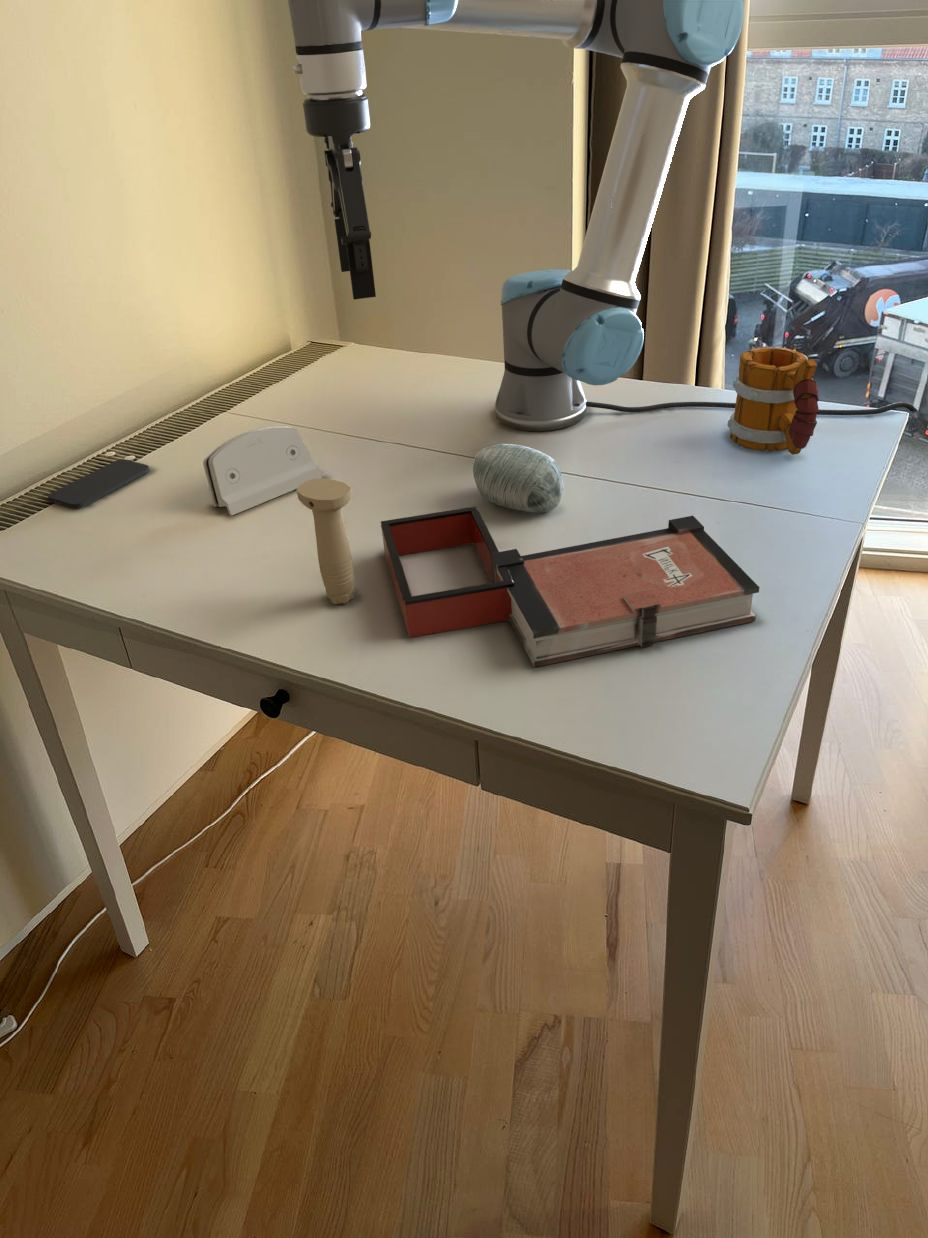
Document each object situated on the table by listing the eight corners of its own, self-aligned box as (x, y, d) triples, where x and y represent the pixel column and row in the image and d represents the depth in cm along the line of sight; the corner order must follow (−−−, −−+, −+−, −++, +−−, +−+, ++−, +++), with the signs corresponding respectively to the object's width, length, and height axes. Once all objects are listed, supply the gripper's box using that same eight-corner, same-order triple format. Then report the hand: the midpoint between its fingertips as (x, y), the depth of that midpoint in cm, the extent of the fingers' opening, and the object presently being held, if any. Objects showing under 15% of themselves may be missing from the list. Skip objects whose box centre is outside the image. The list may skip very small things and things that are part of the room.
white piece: (229, 516, 137) (203, 449, 134) (216, 516, 141) (190, 451, 138) (324, 477, 146) (302, 413, 143) (309, 478, 150) (287, 416, 147)
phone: (152, 465, 152) (76, 505, 142) (153, 470, 152) (78, 510, 142) (120, 457, 155) (44, 496, 145) (121, 462, 156) (45, 500, 145)
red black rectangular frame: (478, 539, 128) (476, 505, 125) (516, 619, 112) (515, 583, 109) (384, 554, 126) (379, 521, 123) (408, 638, 110) (404, 602, 107)
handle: (333, 582, 121) (315, 475, 112) (373, 595, 118) (358, 485, 109) (308, 601, 118) (288, 492, 109) (349, 615, 115) (332, 503, 106)
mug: (773, 418, 154) (784, 325, 145) (837, 457, 141) (854, 358, 132) (713, 430, 151) (722, 337, 143) (773, 472, 138) (786, 371, 130)
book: (536, 671, 103) (535, 633, 100) (492, 588, 117) (490, 553, 114) (758, 624, 108) (763, 586, 105) (690, 550, 122) (693, 515, 119)
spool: (587, 480, 132) (552, 429, 126) (551, 532, 130) (513, 483, 124) (520, 474, 143) (485, 427, 137) (486, 523, 140) (448, 476, 134)
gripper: (294, 87, 120) (319, 263, 132) (310, 109, 99) (338, 314, 111) (354, 82, 121) (373, 256, 133) (382, 102, 100) (402, 306, 112)
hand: (357, 283), depth 122 cm, fingers open, 13 cm apart
